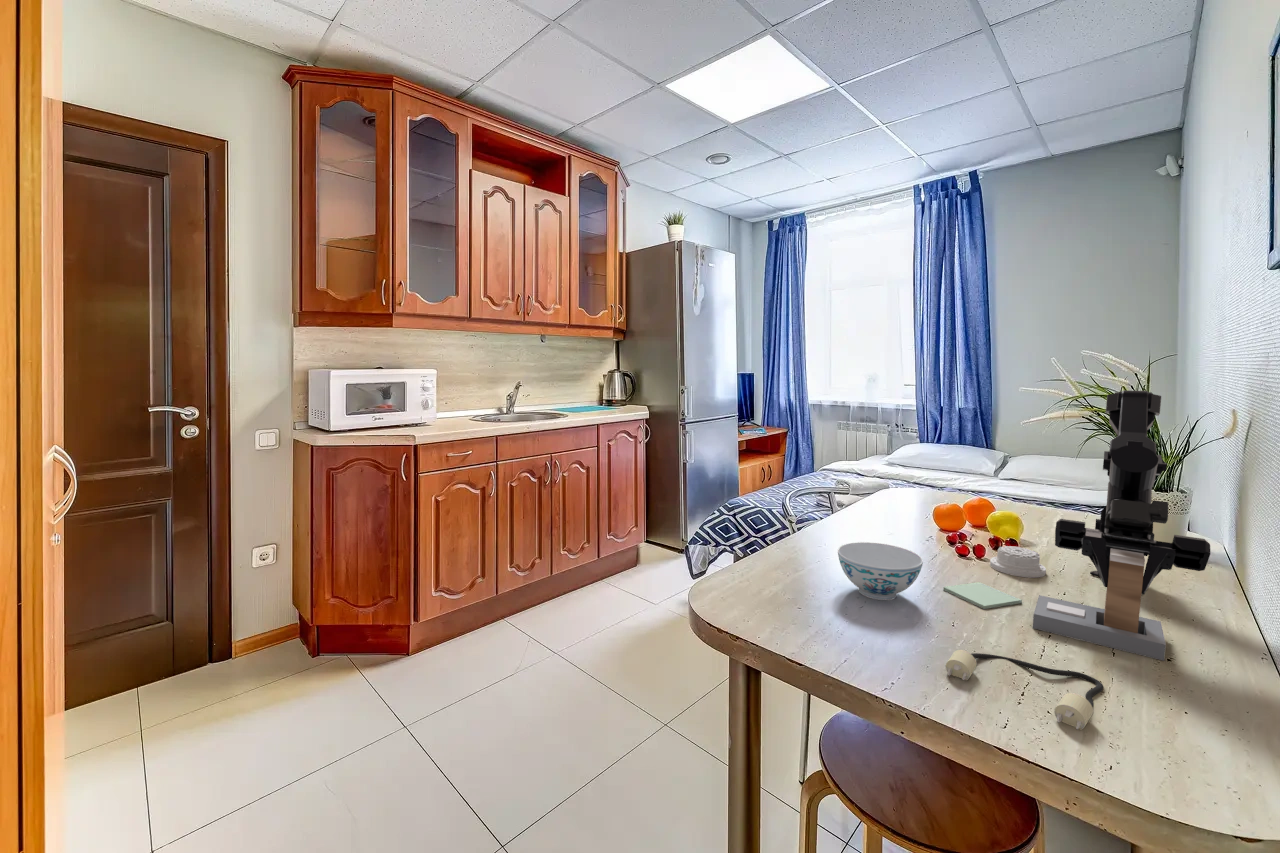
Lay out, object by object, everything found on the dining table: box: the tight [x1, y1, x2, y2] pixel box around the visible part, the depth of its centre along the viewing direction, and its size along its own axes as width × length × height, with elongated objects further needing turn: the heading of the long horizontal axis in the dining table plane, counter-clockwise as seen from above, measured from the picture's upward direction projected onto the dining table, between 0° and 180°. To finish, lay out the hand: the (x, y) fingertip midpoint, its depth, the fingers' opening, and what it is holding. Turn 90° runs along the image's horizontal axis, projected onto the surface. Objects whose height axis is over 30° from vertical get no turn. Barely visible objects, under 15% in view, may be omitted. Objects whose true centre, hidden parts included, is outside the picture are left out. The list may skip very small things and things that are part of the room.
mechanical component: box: [989, 545, 1047, 579], centre depth 118 cm, size 10×4×10 cm
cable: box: [945, 649, 1104, 731], centre depth 76 cm, size 16×16×4 cm
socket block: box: [1032, 594, 1167, 662], centre depth 90 cm, size 10×16×3 cm, turn 50°
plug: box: [1104, 548, 1146, 633], centre depth 87 cm, size 4×4×12 cm
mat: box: [942, 581, 1023, 610], centre depth 104 cm, size 9×9×1 cm
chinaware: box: [837, 541, 924, 601], centre depth 106 cm, size 15×15×8 cm
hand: (1124, 589), depth 86 cm, fingers closed on plug, 4 cm apart
